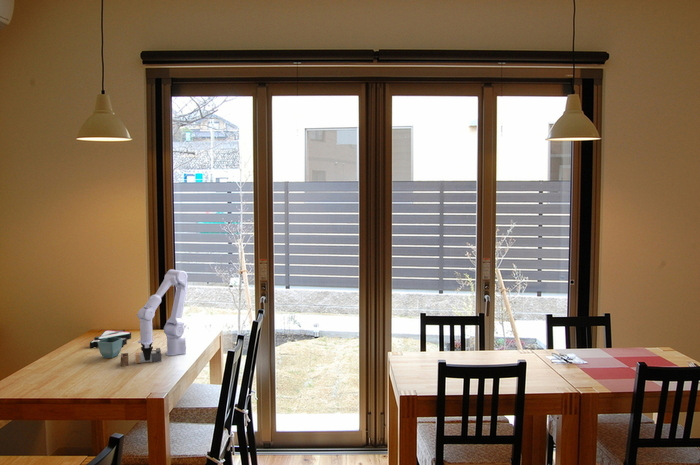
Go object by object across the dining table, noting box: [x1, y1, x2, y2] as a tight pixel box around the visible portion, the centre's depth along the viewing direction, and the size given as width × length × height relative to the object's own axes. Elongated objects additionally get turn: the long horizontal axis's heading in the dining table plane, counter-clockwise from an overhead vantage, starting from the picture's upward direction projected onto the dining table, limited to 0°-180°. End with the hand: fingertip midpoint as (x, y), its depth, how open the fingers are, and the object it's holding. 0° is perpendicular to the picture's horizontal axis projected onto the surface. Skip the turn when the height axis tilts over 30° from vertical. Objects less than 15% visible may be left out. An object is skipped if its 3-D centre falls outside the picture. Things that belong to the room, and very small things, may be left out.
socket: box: [120, 352, 129, 367], centre depth 262 cm, size 3×7×4 cm, turn 22°
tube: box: [134, 349, 162, 364], centre depth 266 cm, size 12×4×4 cm, turn 112°
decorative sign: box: [89, 329, 132, 349], centre depth 302 cm, size 18×4×30 cm
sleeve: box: [151, 347, 162, 363], centre depth 268 cm, size 4×6×5 cm
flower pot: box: [97, 337, 123, 359], centre depth 274 cm, size 9×9×9 cm
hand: (147, 358), depth 266 cm, fingers open, 7 cm apart
